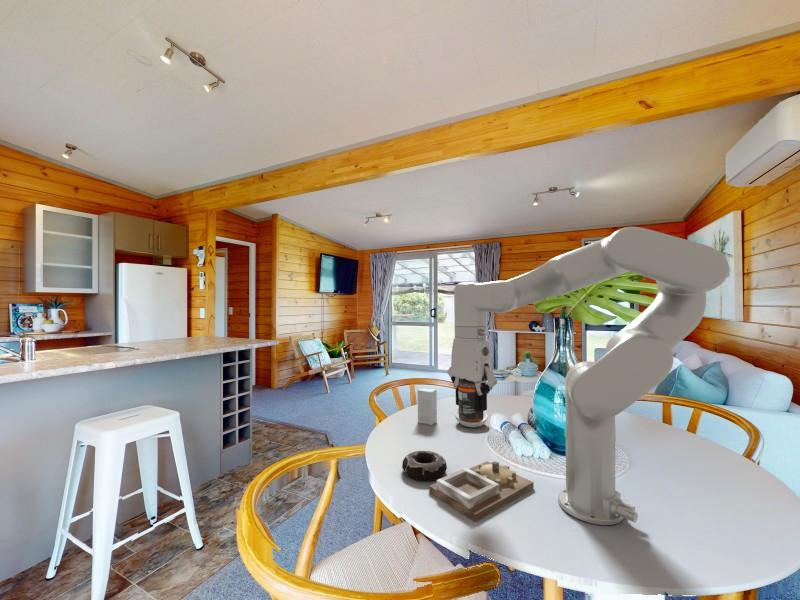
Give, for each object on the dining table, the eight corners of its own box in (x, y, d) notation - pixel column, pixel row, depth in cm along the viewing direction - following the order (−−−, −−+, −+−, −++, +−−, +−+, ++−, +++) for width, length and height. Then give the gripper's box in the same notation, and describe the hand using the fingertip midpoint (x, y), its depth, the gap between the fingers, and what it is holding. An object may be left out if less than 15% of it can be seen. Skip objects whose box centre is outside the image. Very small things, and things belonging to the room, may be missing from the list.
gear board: (533, 488, 86) (533, 467, 86) (475, 521, 73) (475, 497, 73) (486, 466, 97) (486, 448, 97) (429, 492, 84) (429, 471, 84)
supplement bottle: (482, 416, 89) (482, 370, 89) (484, 424, 83) (484, 376, 83) (458, 415, 90) (458, 370, 90) (458, 423, 84) (458, 375, 84)
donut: (400, 463, 99) (400, 449, 99) (442, 461, 100) (442, 447, 100) (404, 485, 88) (404, 468, 88) (451, 483, 88) (451, 467, 88)
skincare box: (437, 422, 132) (437, 389, 132) (431, 425, 128) (431, 392, 128) (422, 419, 135) (422, 387, 135) (417, 422, 131) (417, 390, 131)
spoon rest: (489, 432, 122) (489, 411, 122) (455, 430, 124) (455, 409, 124) (483, 410, 146) (483, 393, 146) (454, 409, 148) (454, 392, 148)
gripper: (509, 335, 82) (510, 413, 82) (456, 330, 96) (457, 397, 96) (486, 337, 77) (487, 420, 77) (435, 332, 92) (436, 402, 92)
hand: (471, 406), depth 87 cm, fingers closed on supplement bottle, 6 cm apart
